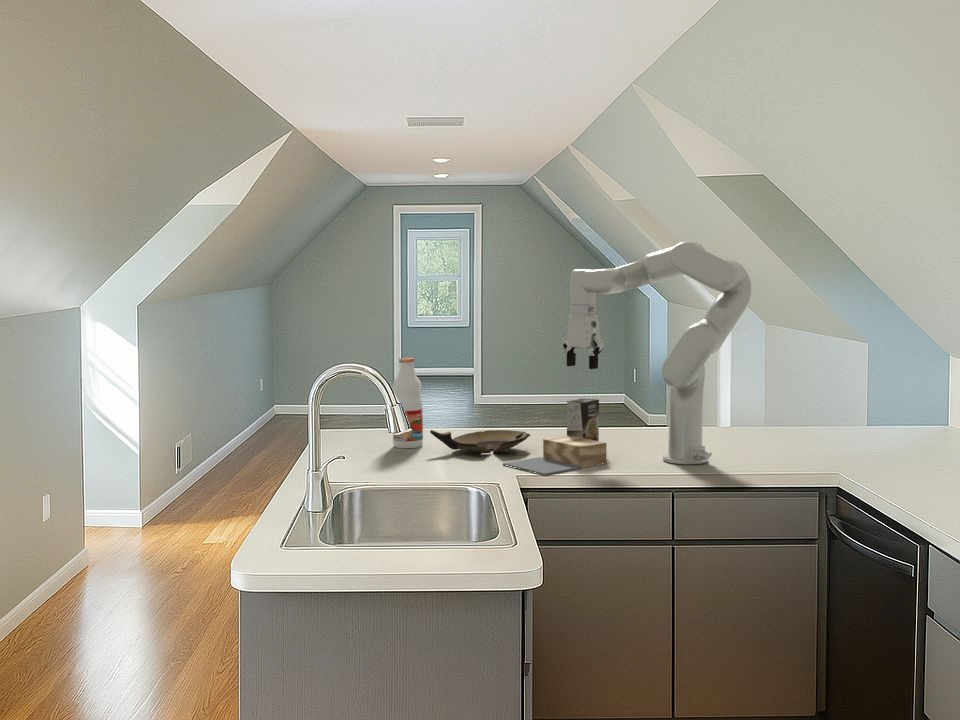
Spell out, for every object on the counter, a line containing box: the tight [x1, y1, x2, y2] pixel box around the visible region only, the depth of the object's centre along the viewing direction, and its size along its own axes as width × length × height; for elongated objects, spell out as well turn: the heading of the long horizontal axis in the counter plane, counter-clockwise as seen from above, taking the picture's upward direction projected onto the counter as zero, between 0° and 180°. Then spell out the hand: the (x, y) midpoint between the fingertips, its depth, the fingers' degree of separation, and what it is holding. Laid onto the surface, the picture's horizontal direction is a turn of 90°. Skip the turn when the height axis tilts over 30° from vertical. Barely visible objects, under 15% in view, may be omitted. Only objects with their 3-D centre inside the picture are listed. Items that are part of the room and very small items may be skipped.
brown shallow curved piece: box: [429, 429, 531, 454], centre depth 303 cm, size 22×30×8 cm
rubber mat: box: [502, 456, 583, 477], centre depth 279 cm, size 18×14×1 cm
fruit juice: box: [392, 357, 424, 449], centre depth 311 cm, size 9×9×28 cm
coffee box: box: [566, 398, 600, 441], centre depth 299 cm, size 9×6×16 cm
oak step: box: [542, 434, 608, 469], centre depth 286 cm, size 16×10×6 cm, turn 38°
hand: (582, 367), depth 297 cm, fingers open, 9 cm apart
